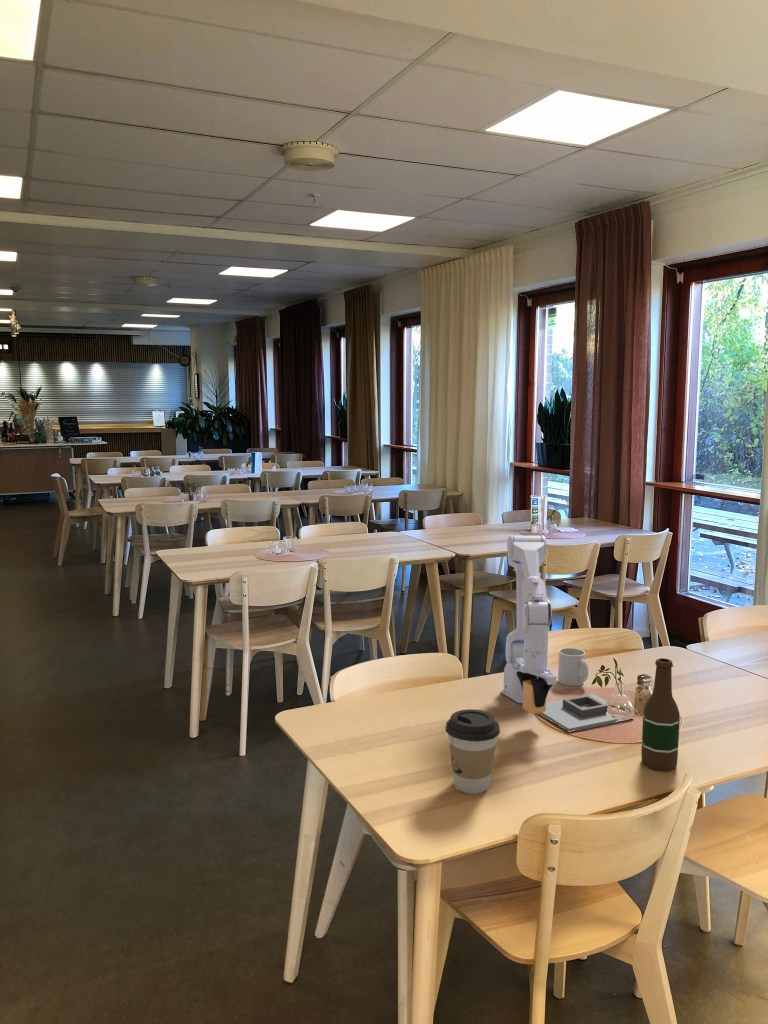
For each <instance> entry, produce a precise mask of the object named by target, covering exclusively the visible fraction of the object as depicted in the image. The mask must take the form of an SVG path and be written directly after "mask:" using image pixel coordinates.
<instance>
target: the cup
mask: <svg viewBox="0 0 768 1024" xmlns="http://www.w3.org/2000/svg"><path fill="white" fill-rule="evenodd" d="M557 669H558V670H557V671H558V672H557V673H558V674H557V675H558V676H557V679H558V682H559V684H561V685H564V686H568V687H580V686H581V685H583V684H584V683H585V682H586V681H587V680H588V678H589V666H588V662H587V661H586V652H585V651H584V650H583V649H580V648H576V647H575V648H574V647H565V648H564V647H563V648H560V649H559V650H558V667H557Z"/></svg>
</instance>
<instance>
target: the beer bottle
mask: <svg viewBox="0 0 768 1024" xmlns="http://www.w3.org/2000/svg"><path fill="white" fill-rule="evenodd" d="M654 664H655V666H656V667H655V668H656V669H655V676H654V683H653V685H654V686H653V690H652V692H651V694H650V695H649V697H648V698H647V699H646V701H645V704H644V706H643V711H642V713H643V714H642V717H643V718H642V728H641V729H642V731H641V732H642V734H641V735H642V736H641V755H640V757H641V761H642V764H643V766H644V767H645V768H648V769H650V770H652V771H654V772H655V771H656V772H667V773H668V772H670V771H673V770H674V769H675V770H676V768H677V765H678V755H679V742H680V741H679V738H680V737H679V735H680V722H681V721H680V720H681V719H680V710H679V707H678V705H677V702H676V701H675V699H674V697H673V689H672V687H673V686H672V685H673V683H672V682H673V681H672V677H673V676H672V674H673V671H672V668H673V667H674V665H673V661H672V660H671V659H668V658H663V657H661V658H658V659H656V660H655V662H654Z"/></svg>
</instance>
